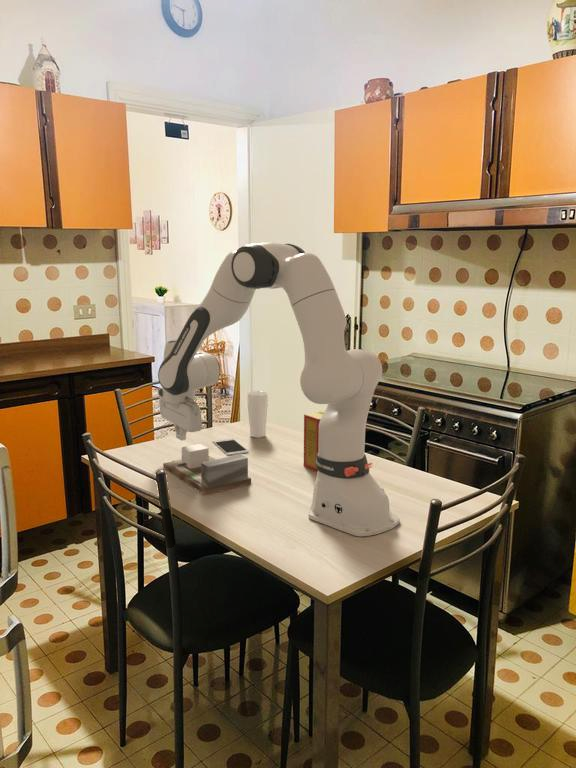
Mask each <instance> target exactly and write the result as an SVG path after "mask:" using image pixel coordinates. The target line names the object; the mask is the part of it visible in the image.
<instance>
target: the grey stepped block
mask: <svg viewBox="0 0 576 768" xmlns="http://www.w3.org/2000/svg"><path fill="white" fill-rule="evenodd" d="M248 460H249V458H248V457H246V456H245V455H244V454H238V455H231V456H224V457H220V458H216V459H215V458H213V457H212V456H210V455H209V461H206V462H202V463H201V467H197V468H192V469H190V468H188V467H186V466H184V465H183V466H178V464H182V458H181V459H177V460H173V461H168V462H163V464H162V465H163V467H162V468H163V469H164V468H165V469H164V470H166V471H167V472H169V473H170V474H171V475H173V476H175V477H177V479H180V480H181V481H183V482H184V483H186V484H187V485H189V486H191V487H192V488H194V489H195V488H196V489H195V490H197V491H198V490H199V492H201V493H202V494H204V495H205V496H208V495H212V494H215V493H220V492H224V491H227V490H231V489H235V488H236V489H237V488H239V487H242V486H243V487H244V486H246V485H251V484H252V477H249V467H248V466H249V463H248V462H249V461H248Z"/></svg>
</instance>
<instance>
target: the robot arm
mask: <svg viewBox="0 0 576 768" xmlns="http://www.w3.org/2000/svg"><path fill="white" fill-rule="evenodd" d="M280 288H281V289H282V290H284V292H285V293H286V294H287V298H288V300H289V303H290V306H291V308H292V312H293V314H294V317H295V319H296V321H297V325H298V328H299V331H300V334H301V337H302V340H303V347H304V348H303V349H304V365H303V368H302V371H301V372H300V373H301V374H300V383H299V384H300V388H301V389H300V390H301V391H302V393H303V395H304V396H305V398H307V399H308V400H309V401H310V402H312V403H314V404H318V405H326V409H325V410H326V411H325V410H324V411H325V413H324V415H323V416H322V418H321V420H320V422H319V444H318V453H317V458H316V468H317V470H318V472H316V473H317V474H316V478H315V482H314V484H313V485H314V487H313V493H312V501H311V505H310V511H309V512H308V519H310V520H312V521H315V522H317V523H321V524H323V525H325V526H329V527H330V528H334V529H336V530H339V531H341V532H344V533H347V534H350V535H352V536H355V537H368V536H369V537H370V536H374V535H378V534H381V533H384V532H387V531H390V530H392V529H394V528H395V527H396V526H398V525H399V524H400V519H401V518H400V517H399V516H398V515H397V514H395V513H393V512H391V511H390V510H391V509H390V499H389V496H388V494H387V493H386V492H385V490H384V488H383V487H381V486H380V485H379V484H378V482H377V481H376V480H375V478H374V477H373V476H372V475H371V473H370V469H371V468H373V466H372V465H373V462H369V463H368V458H367V456H366V454H365V447H366V446H365V445H366V444H365V443H366V428H367V427H366V426H367V421H368V420H367V419H368V415H369V410H370V407H371V403H372V400H373V395H374V393H375V390H376V388H377V385H378V384H379V382H380V381H381V379H382V376H383V365H382V364H383V363H382V362H381V360H380V358H379V357H378V356H377V354H375V353H374V352H373V351H370V350H366V349H359V348H352V349H349V350H347V348H346V341H345V329H346V327H347V322H348V321H347V317H346V314H345V311H344V309H343V306H342V303H341V301H340V298H339V296H338V293H337V290H336V288H335V285H334V283H333V281H332V279H331V276H330V274H329V272H328V271H327V270H326V267H325V266H324V264H323V262H322V261H321V259H320V258H319V257H318V256H317V255H316V254H314V253H311V252H305V250H303V248H301V247H300V246H298V245H295V244H291V243H279V242H268V241H267V242H260V243H253V242H252V243H248V244H245V245H242V246H241V247H239V248H238V249H237V250H232V251H231V252H228V254H227V255H226V256H225V258H224V259H223V260H222V262H221V264H220V266H219V267H218V270H217V271H216V273H215V276H214V278H213V280H212V283H211V285H210V288H209V289H208V292H207V293H206V295H205V297H204V298H203V300H201V302H200V304H199V305H198V306H197V307H196V308H195V310H194V311H192V313H191V315H189V317H188V319H187V321H186V322H185V324H184V327H182V330H181V331H180V334H179V335H178V338H177V339H174V340H173V339H172V340H169V341H167V342H166V343H165V346H164V350H163V360H162V362H161V364H160V365H159V369H158V372H157V373H158V374H157V378H158V382H159V384H160V386H161V387H160V388H159V387H158V389H157V395H158V396H159V398H158V399H159V401H158V402H159V414H160V416H161V418H163V419H164V420H165V421H168V422H170V423H172V424H173V428H174V429H173V430H174V432H175V438H176V439H177V440H180V441H185V440H187V434H188V433H187V432H189V433H195V432H197V433H198V432H200V431H201V430H202V428H203V421H202V411H201V408H200V405H198V404H197V400H196V390H199V389H203V388H207V387H211V386H213V385H215V384H216V383H217V382H218V381H219V380H220V377H221V364H220V362H219V360H218V359H217V357H216V356H215V355H213V354H212V353H210V352H209V353H208V352H206V351H204V350H202V349H200V348H201V347H202V344H203V343H204V341H205V340H206V339H207V338H208V337H210V336H211V335H213V334H215V333H216V332H218V331H220V330H222V329H225V328H227V327H229V326H232V325H234V324H236V323H238V322H239V321H241V319H242V318H243V317H244V315H245V314H246V313H247V311H248V309H249V307H250V305H251V302H252V300H253V297H254V295H255V292H256V290H259V289H271V290H273V289H280Z"/></svg>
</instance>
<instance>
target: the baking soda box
mask: <svg viewBox="0 0 576 768" xmlns="http://www.w3.org/2000/svg"><path fill="white" fill-rule="evenodd" d="M325 411H326V409H325V410H320V411H316V412H309V413H306V414H303V467H305V468H307V469H309V470H311V471H313V472H314V471H315V473H318V470H317V468H316V458H317V453H318V444H319V422H320V420H321V418H322V416H323V415H324V413H325Z"/></svg>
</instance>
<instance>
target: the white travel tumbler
mask: <svg viewBox="0 0 576 768" xmlns="http://www.w3.org/2000/svg"><path fill="white" fill-rule="evenodd" d="M268 398H269V397H268V392H267V391H263V390H253V391H248V392H247V411H248V414H247V415H248V421H249V422H248V423H249V425H248V426H249V435H250V437H252V438H256V439H257V438H264V437H265V436H266V434H267V417H268V406H269V404H268V402H269V400H268Z"/></svg>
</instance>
